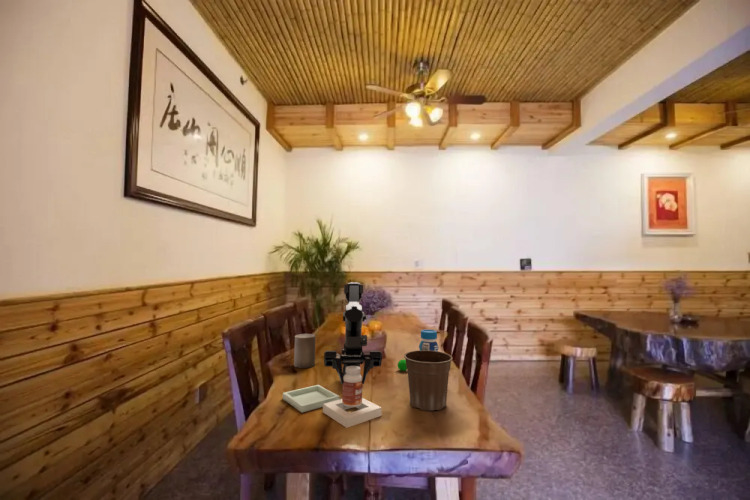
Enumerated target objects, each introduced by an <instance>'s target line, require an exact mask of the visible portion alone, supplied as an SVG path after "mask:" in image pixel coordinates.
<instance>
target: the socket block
mask: <svg viewBox="0 0 750 500" xmlns="http://www.w3.org/2000/svg"><path fill="white" fill-rule="evenodd" d="M352 408H356V409H357V410H355V411H352V412H348V411H347V410H350V409H352ZM322 413H323V414H324V415H327V416H328V417H329V418H331V419H333V420H334V421H335V422H337V423H338V424H340V425H342V426H343V427H345V428H346V429H347V428H350V427H353V426H356V425H358V424H361V423H364V422H367V421H370V420H373V419H376V418H379V417H381V416H382V407H381V406H380V405H378V404H376V403H374V402H371V401H370V400H367V399H366V398H364V397H362V404H361V405H360V406H357V407H347V406H345V405H343V403H342V398H339V400H336V401H332V402H328V403H325V404H323V407H322Z"/></svg>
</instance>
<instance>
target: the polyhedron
mask: <svg viewBox="0 0 750 500" xmlns="http://www.w3.org/2000/svg"><path fill="white" fill-rule="evenodd" d="M397 368H398V370H399V371H401V372H405V371H407V368H406V359H404V358H403V359H401V360H399V361H398V362H397Z"/></svg>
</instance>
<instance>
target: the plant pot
mask: <svg viewBox="0 0 750 500" xmlns="http://www.w3.org/2000/svg"><path fill="white" fill-rule="evenodd" d="M403 357H404V358H403V359H404V360H406V368H407V370H406V371H407V378H408V380H407V381H408V390H409V402H410V404H411V406H412V407H413V408H415V409H418V408H419V410H422V411H427V412H435V411H434V410H437V411H441V410H443V409H444V408H445V407H447V398H448V397H447V396H448V386H449V385H448V384H449V376H450V375H449V374H450V371H451V363H452V360H453V356H452V355H450V354H449V353H446V352H442V351H439V350H438V351H430V350H420V349H419V350H411V351H408V352H406V353H404V355H403Z"/></svg>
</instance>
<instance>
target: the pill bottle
mask: <svg viewBox="0 0 750 500" xmlns="http://www.w3.org/2000/svg"><path fill="white" fill-rule="evenodd" d="M345 372H346V374H345V375H344V376H343V384H342V398H341V399H342V403H343V405H345V406H347V407H353V408H355V407H357V406H360V405H361V404H362V398H363V374H361V366H360V367H359V366H347V367H346V371H345Z"/></svg>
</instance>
